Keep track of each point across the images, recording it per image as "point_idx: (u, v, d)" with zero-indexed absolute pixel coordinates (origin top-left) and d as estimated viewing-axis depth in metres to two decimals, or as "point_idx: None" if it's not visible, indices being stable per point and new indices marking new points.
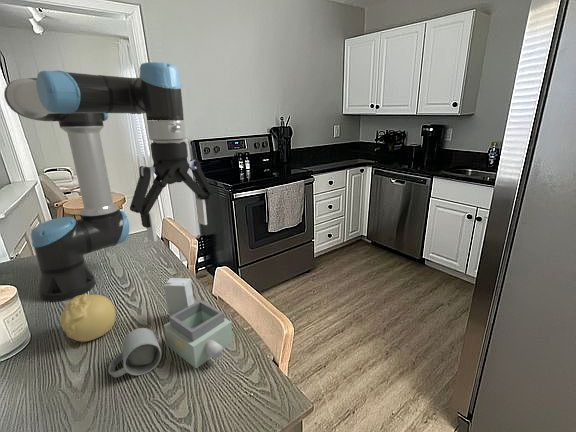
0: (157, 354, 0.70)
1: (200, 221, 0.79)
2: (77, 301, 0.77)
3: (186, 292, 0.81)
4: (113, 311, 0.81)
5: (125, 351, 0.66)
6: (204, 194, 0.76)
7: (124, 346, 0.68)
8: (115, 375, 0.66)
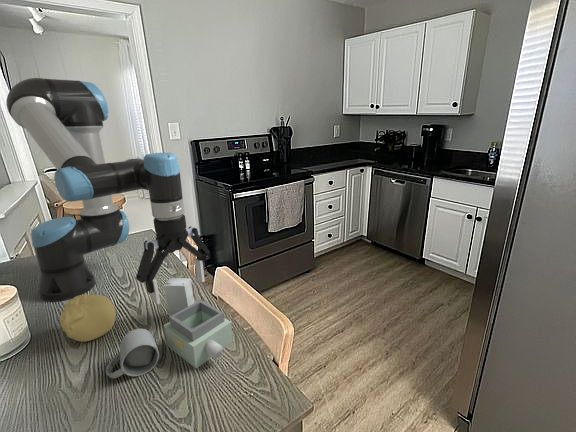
0: (155, 355, 0.70)
1: (198, 278, 0.88)
2: (77, 301, 0.77)
3: (186, 292, 0.81)
4: (113, 311, 0.81)
5: (123, 352, 0.66)
6: (201, 256, 0.85)
7: (122, 347, 0.68)
8: (112, 376, 0.66)
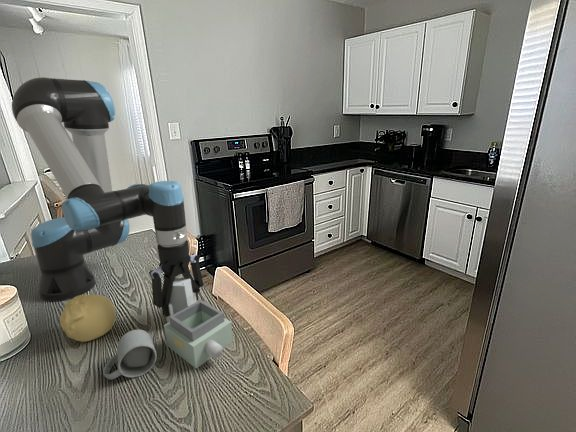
0: (152, 356, 0.70)
1: None
2: (77, 301, 0.77)
3: (186, 292, 0.81)
4: (113, 311, 0.81)
5: (120, 353, 0.66)
6: (195, 287, 0.86)
7: (119, 348, 0.68)
8: (110, 377, 0.66)
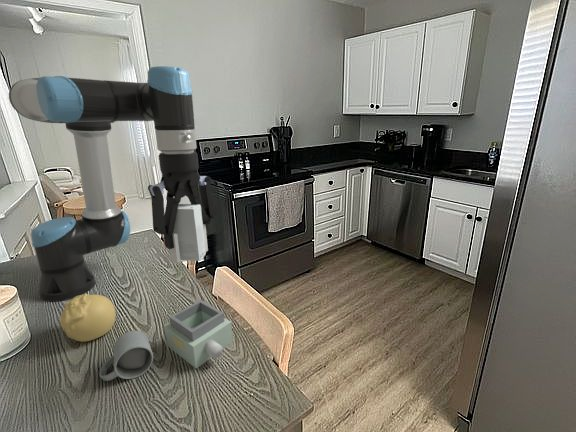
0: (149, 357, 0.70)
1: None
2: (77, 301, 0.77)
3: (195, 219, 0.65)
4: (113, 311, 0.81)
5: (116, 354, 0.65)
6: (205, 217, 0.69)
7: (115, 349, 0.67)
8: (106, 378, 0.65)
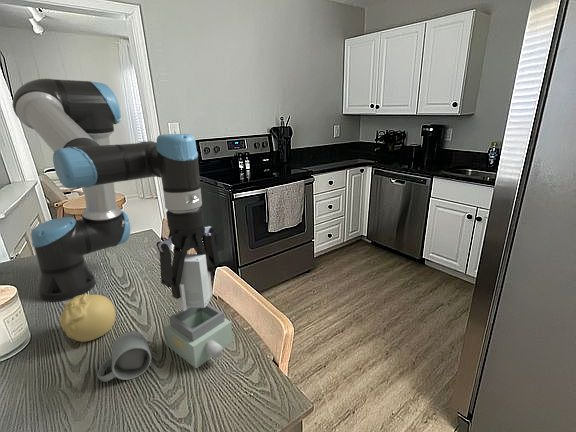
0: (147, 358, 0.69)
1: None
2: (77, 301, 0.77)
3: (200, 270, 0.68)
4: (113, 311, 0.81)
5: (114, 355, 0.65)
6: (210, 265, 0.73)
7: (113, 350, 0.67)
8: (104, 379, 0.65)
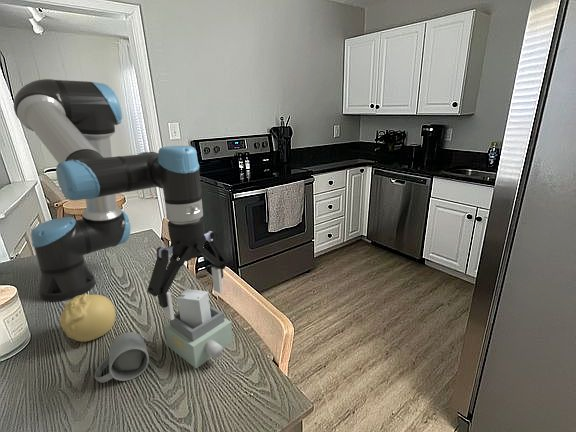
0: (145, 359, 0.69)
1: (215, 289, 0.78)
2: (77, 301, 0.77)
3: (201, 308, 0.70)
4: (113, 311, 0.81)
5: (111, 356, 0.65)
6: (220, 263, 0.75)
7: (111, 351, 0.67)
8: (101, 380, 0.65)
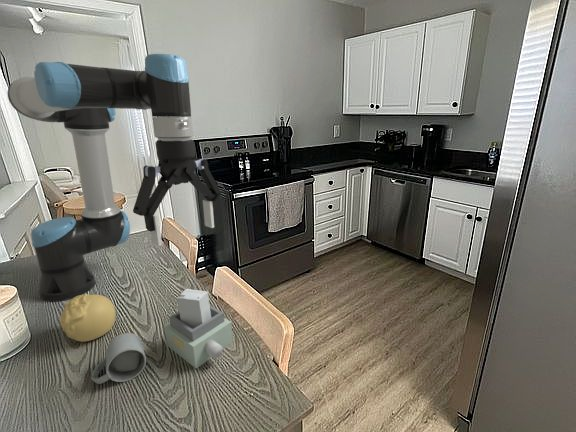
0: (142, 360, 0.69)
1: (207, 224, 0.75)
2: (77, 301, 0.77)
3: (201, 308, 0.70)
4: (113, 311, 0.81)
5: (108, 357, 0.65)
6: (211, 195, 0.72)
7: (108, 352, 0.67)
8: (98, 381, 0.65)
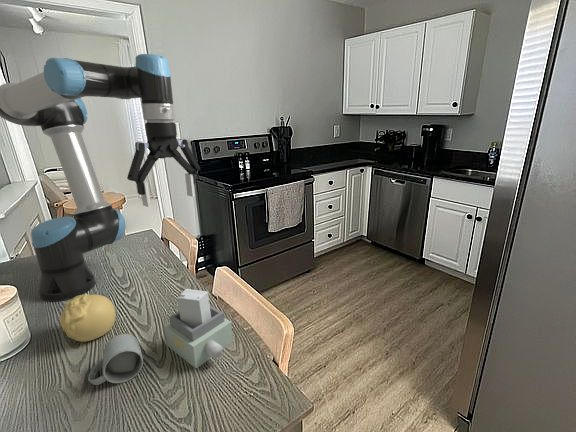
0: (139, 361, 0.68)
1: (189, 193, 0.91)
2: (77, 301, 0.77)
3: (201, 308, 0.70)
4: (113, 311, 0.81)
5: (105, 358, 0.64)
6: (192, 169, 0.88)
7: (105, 353, 0.66)
8: (95, 383, 0.64)
